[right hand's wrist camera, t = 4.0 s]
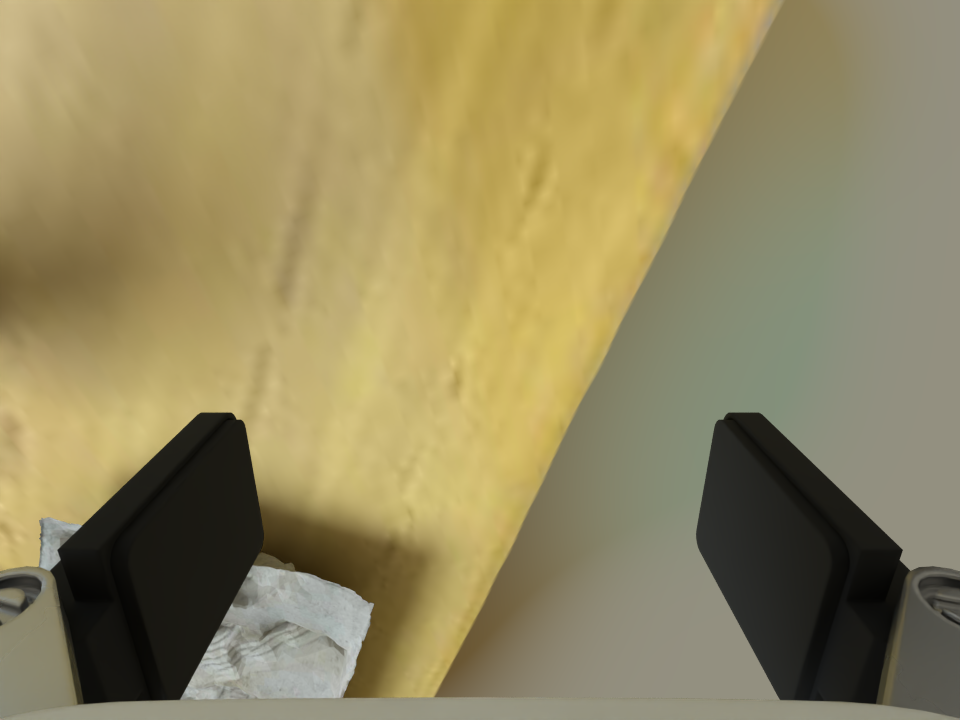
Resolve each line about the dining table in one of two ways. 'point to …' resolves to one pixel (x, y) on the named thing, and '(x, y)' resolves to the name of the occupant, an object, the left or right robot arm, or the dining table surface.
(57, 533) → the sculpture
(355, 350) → the dining table surface
